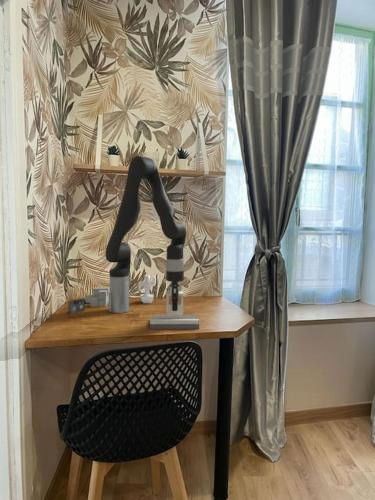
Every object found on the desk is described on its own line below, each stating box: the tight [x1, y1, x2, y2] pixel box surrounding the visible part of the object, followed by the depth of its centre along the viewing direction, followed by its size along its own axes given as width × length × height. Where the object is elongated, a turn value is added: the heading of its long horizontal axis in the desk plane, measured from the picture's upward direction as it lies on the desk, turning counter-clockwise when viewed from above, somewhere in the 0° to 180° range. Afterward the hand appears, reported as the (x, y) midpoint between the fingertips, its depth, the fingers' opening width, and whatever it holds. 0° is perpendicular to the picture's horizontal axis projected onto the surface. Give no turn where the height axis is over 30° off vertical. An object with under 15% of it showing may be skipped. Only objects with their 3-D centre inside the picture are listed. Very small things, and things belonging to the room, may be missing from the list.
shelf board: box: [149, 314, 200, 330], centre depth 132 cm, size 20×12×4 cm, turn 92°
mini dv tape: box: [67, 297, 86, 315], centre depth 149 cm, size 8×2×6 cm, turn 148°
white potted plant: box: [137, 274, 157, 304], centre depth 169 cm, size 7×9×15 cm
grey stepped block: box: [84, 286, 110, 308], centre depth 164 cm, size 12×12×8 cm
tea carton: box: [166, 290, 184, 315], centre depth 132 cm, size 5×7×9 cm, turn 92°
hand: (174, 308), depth 132 cm, fingers closed on tea carton, 4 cm apart
